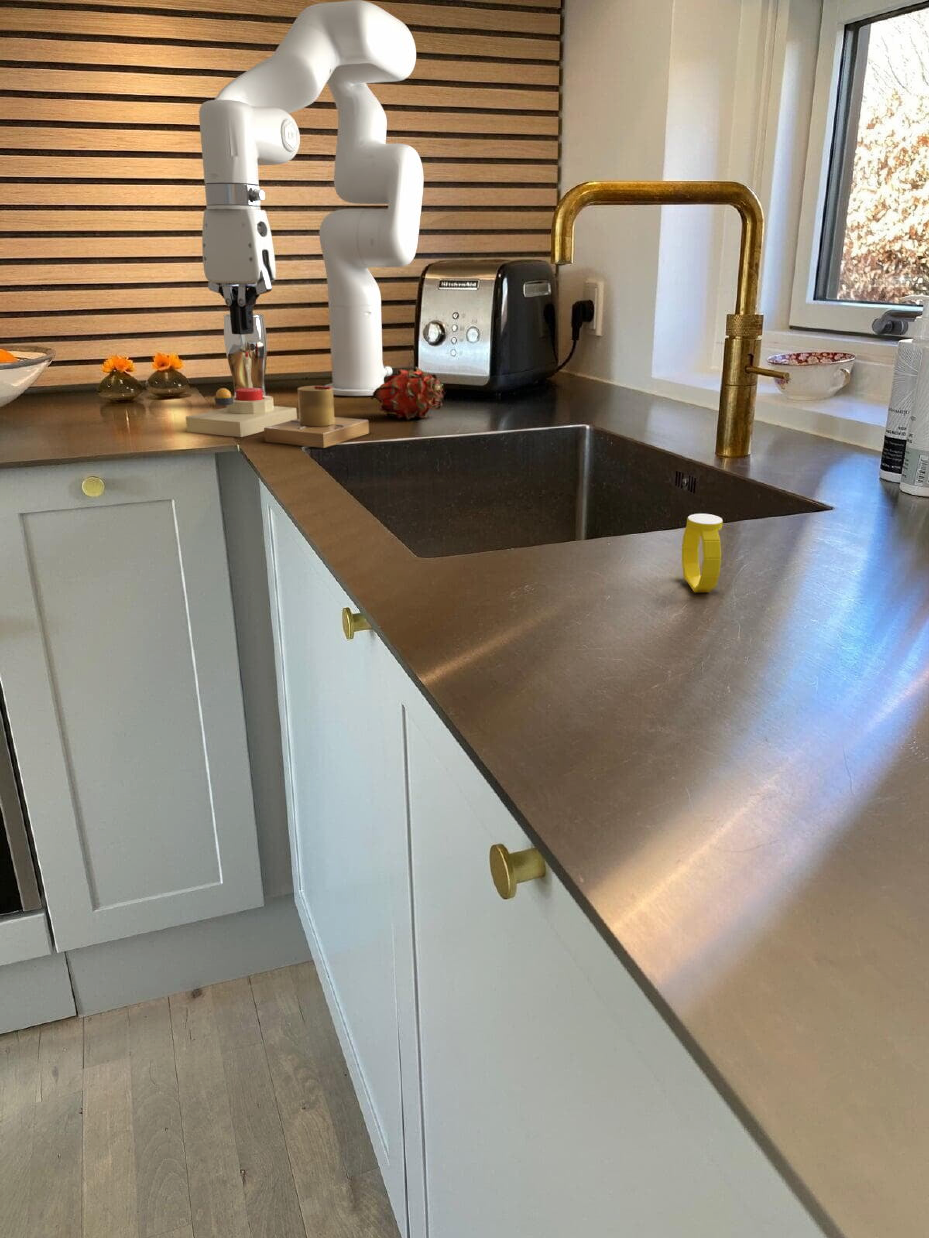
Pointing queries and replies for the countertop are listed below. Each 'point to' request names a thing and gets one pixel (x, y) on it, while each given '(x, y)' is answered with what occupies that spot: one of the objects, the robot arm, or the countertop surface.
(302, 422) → the dimmer knob
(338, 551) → the countertop surface
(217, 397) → the lamp
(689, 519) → the watch
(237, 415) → the switch block
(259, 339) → the beer glass
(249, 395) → the light button
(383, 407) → the dragon fruit
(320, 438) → the dimmer panel
